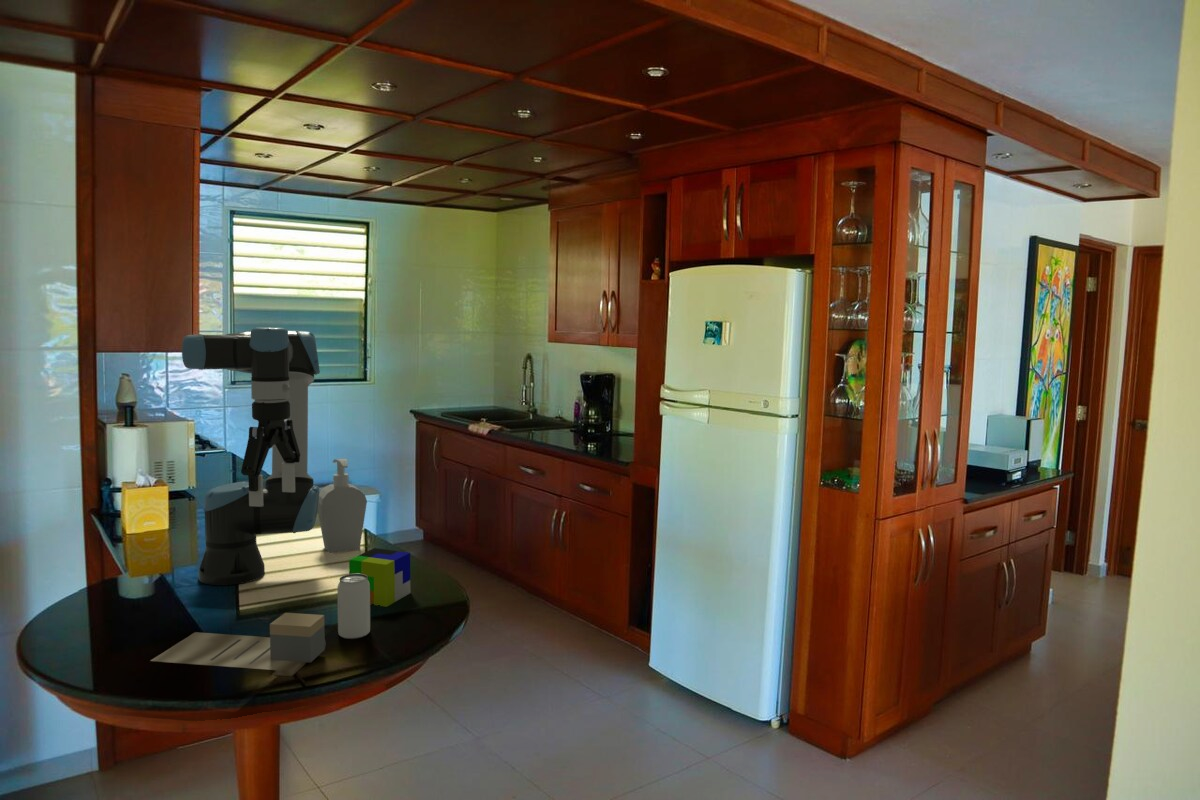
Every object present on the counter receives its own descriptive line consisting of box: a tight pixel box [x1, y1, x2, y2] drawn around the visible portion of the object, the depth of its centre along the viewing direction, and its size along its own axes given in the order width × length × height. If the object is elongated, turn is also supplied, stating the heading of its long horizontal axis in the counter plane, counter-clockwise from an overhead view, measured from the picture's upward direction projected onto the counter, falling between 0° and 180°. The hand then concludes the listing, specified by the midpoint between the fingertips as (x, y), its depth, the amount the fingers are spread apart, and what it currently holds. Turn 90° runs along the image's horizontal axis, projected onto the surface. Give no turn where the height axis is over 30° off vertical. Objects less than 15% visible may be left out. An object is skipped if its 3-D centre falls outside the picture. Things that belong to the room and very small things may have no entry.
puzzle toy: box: [348, 547, 411, 608], centre depth 192 cm, size 10×10×10 cm
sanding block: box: [269, 612, 326, 663], centre depth 157 cm, size 8×6×7 cm
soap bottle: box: [317, 458, 368, 554], centre depth 228 cm, size 12×10×26 cm
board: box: [149, 631, 327, 677], centre depth 158 cm, size 28×14×1 cm, turn 83°
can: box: [337, 573, 371, 640], centre depth 170 cm, size 6×6×12 cm
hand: (273, 498), depth 175 cm, fingers open, 13 cm apart
